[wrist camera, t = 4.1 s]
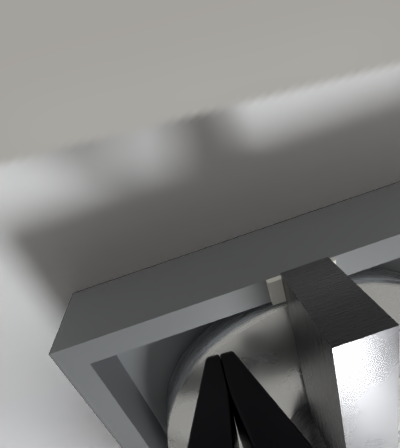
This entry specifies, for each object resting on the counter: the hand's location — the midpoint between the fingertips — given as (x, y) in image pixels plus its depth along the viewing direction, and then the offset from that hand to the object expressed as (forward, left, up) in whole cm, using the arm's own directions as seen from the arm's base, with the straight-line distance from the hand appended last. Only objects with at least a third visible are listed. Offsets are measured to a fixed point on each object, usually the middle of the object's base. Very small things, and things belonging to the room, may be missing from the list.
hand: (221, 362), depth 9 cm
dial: (+3, -7, -3) cm, 8 cm away
